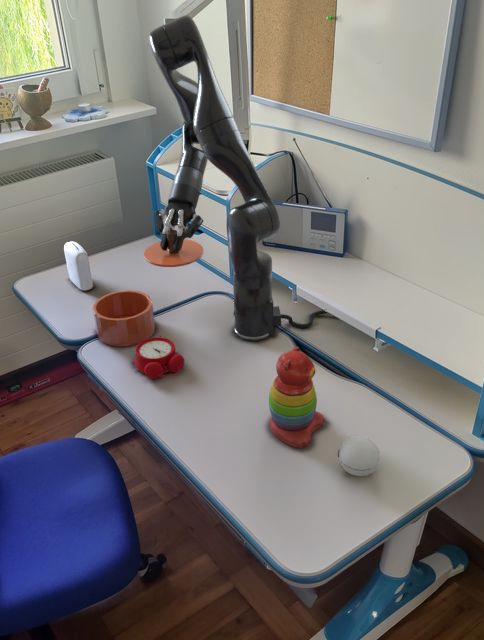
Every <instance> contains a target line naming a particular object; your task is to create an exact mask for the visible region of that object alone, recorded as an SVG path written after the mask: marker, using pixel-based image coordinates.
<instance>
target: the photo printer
mask: <svg viewBox="0 0 484 640" xmlns="http://www.w3.org/2000/svg"><path fill="white" fill-rule="evenodd" d="M63 252H64V258H65V262H66V267H67V268H66V269H67V273H68V277H69V280H70V281H71V283H73V285H75V286H76V287H77V288H78V289H79V290H81V291H89V290H91V289H92V288H93V287H94V283H93V282H94V281H93V278H92V272H91V266H90V261H89V260H90V259H89V256H88V255H89V254H88V252H87V251H86V250H85V249H84V248H83V246H82V245H81V244H79V243H77V242H76V241H73V240H71V241H69V242H68V241H67V242H66V243H65V244H64V246H63Z"/></svg>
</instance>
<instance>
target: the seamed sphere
mask: <svg viewBox="0 0 484 640" xmlns="http://www.w3.org/2000/svg"><path fill="white" fill-rule="evenodd" d="M337 457H338V460H339V463H340V465H341V466H342V468H343V469H344V471H346V472H347V473H348V474H349V475H352V476H355V477H366V476H368V475H371V474H372V473H374V471H375V470H376V469H377V468H378V467H379V464H380V460H381V455H380V450H379V447H378V445H377V444H376V442H375V441H373V440H372V439H371V438H369V437H367V436H364V435H354V436H351V437H348V438H347V439H345V440H344V442H343V443H342V444H341V446H340V448H339V449H338V452H337Z"/></svg>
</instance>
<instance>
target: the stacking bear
mask: <svg viewBox="0 0 484 640" xmlns="http://www.w3.org/2000/svg"><path fill="white" fill-rule="evenodd" d="M275 364H276V365H275V370H276V375H277V376H276V377H275V378H274V379H273V381H272V383H271V386H270V391H269V394H268V407H269V408H268V409H269V412H270V416H271V417H270V419H269V420H270V421H269V428H270V431H271V432H272V434H273V435H274V436H275V437H276V438H277V439H278V440H280V441H281V442H282V443H284V444H287V445H289V446H291V447H294V448H297V449H303V448H307V447H308V446H310V444H311V443H312V438H311V436H312V434H313V432H314V431H316V430H319V429H320V428H322V427H324V424H325V422H326V420H325V417H324V415H323V414H322V413H321V412H319V411H317V403H318V397H317V393H316V388H315V384H314V380H313V378H314V376H315V374H316V367H315V364H314V362H313V361H312V359H311V358H310V357H309V356H308V355H307V354H306V353H304V352H302V351H301V350H300V347H299V346H296V347H293V348H292V350H290V351H289V350H288V351H286V352H284V353H282V354H281V355H280V356H279V357H278V359H277V361H276V363H275Z"/></svg>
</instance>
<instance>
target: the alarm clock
mask: <svg viewBox="0 0 484 640" xmlns="http://www.w3.org/2000/svg"><path fill="white" fill-rule="evenodd" d="M131 346H135V351H134V352H135V358H134V362H133V363H134V367H135V368H136V370H138V371H139V372H141V373H143V374H144V375H145V376H146V378H148V379H150V380H151V379H152V380H156V379H159V378H169V377H172V376H175V375H177V374H179V372H180V371H181V370H182V368H183V367H184V365H185V358H184V357H183V355H181V354H180V353H177V351H176V345H175V343H174V342H173V341H172V340H171V339H170V338H166V337H162V335H161V334H159V336H156V337H149V338H148V339H146V340H144V341H142V342H140V343H138V344H132V345H131ZM168 372H172V374H169V375H163V374H166V373H168Z"/></svg>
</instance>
